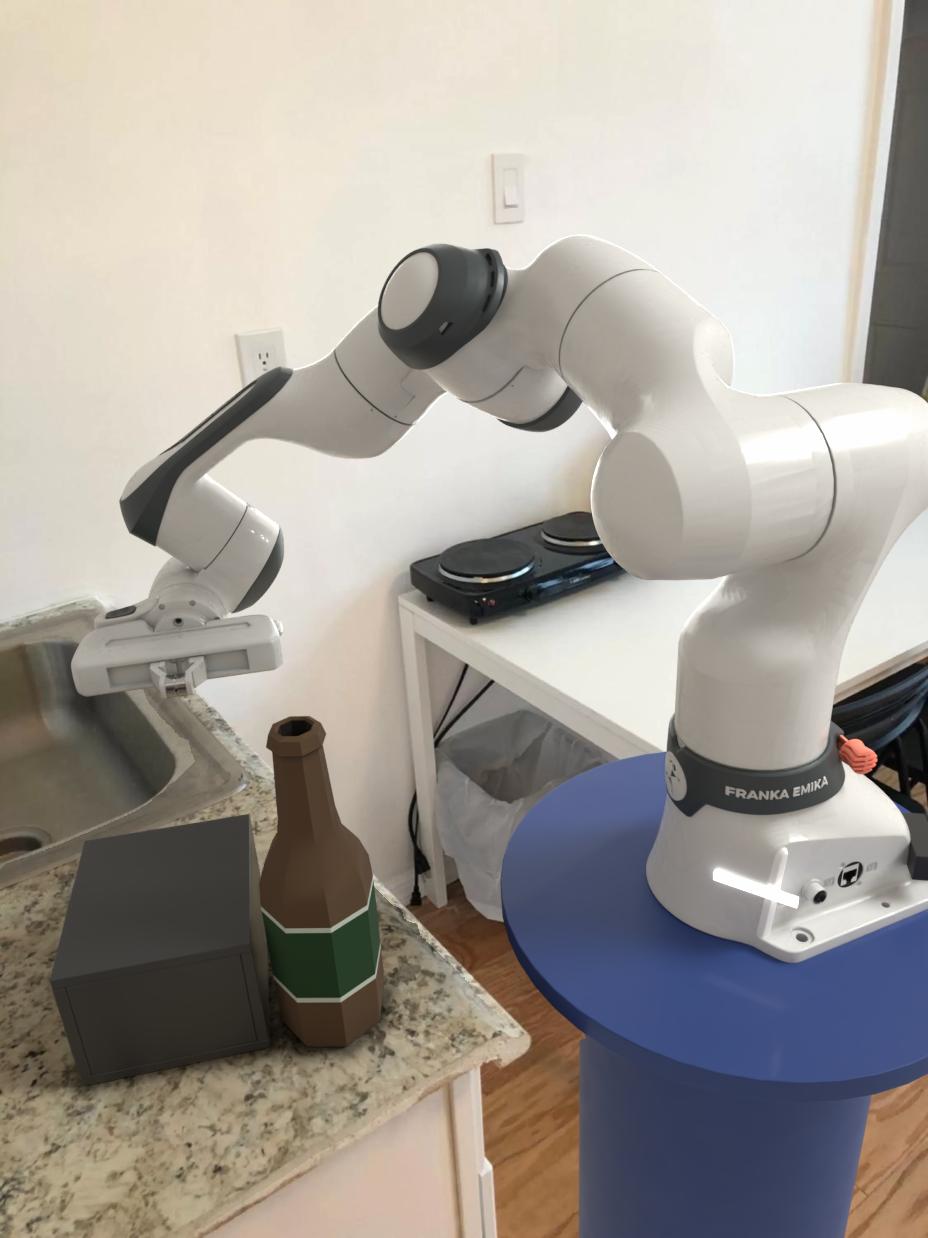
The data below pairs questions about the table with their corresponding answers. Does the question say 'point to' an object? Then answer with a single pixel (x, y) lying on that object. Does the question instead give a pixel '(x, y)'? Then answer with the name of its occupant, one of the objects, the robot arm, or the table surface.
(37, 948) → the table surface
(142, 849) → the cabinet
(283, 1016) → the beer bottle
